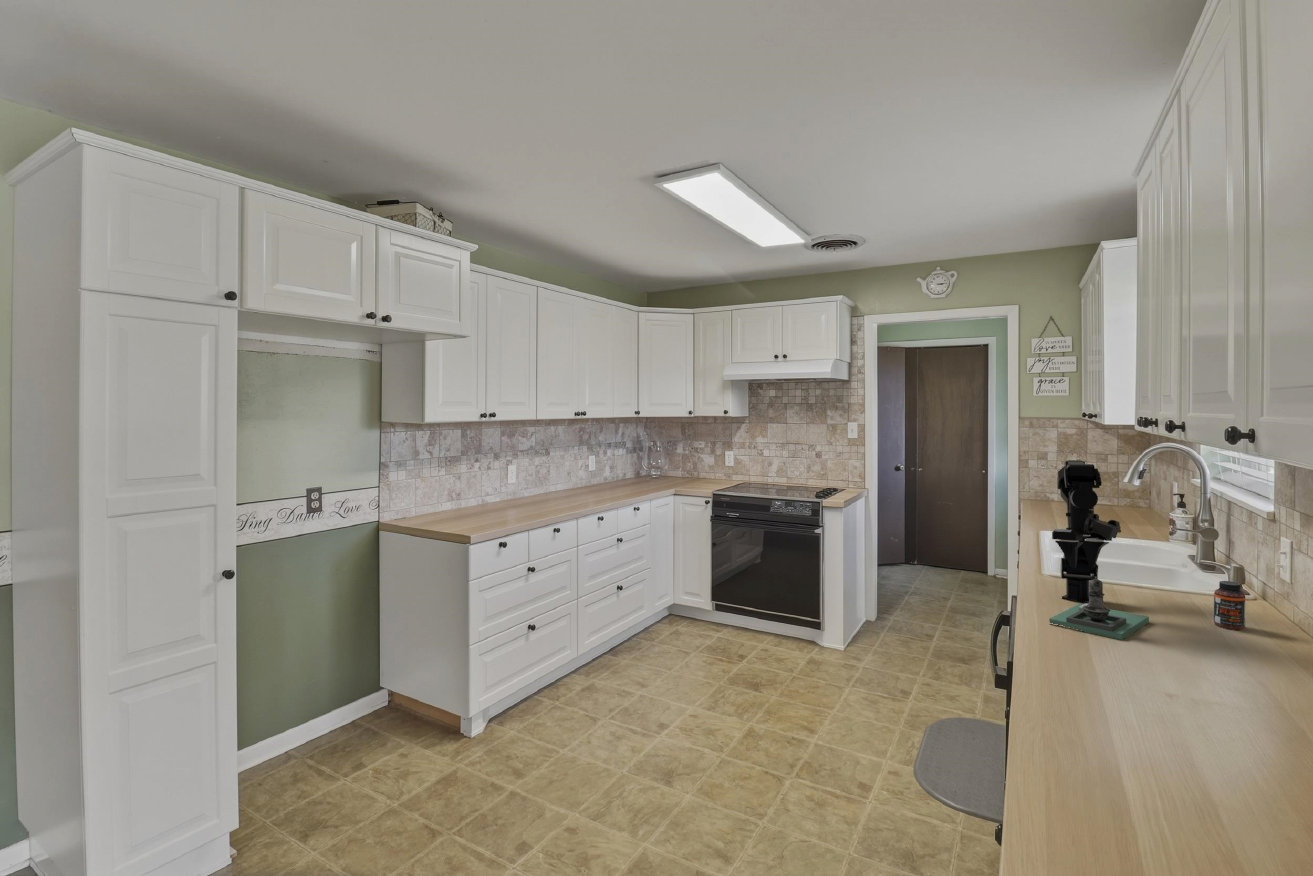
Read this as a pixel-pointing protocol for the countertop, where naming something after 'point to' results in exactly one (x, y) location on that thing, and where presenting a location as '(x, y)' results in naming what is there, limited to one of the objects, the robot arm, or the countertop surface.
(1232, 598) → the supplement bottle
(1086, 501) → the robot arm
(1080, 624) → the socket board
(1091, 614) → the weathered stone pawn
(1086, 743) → the countertop surface
